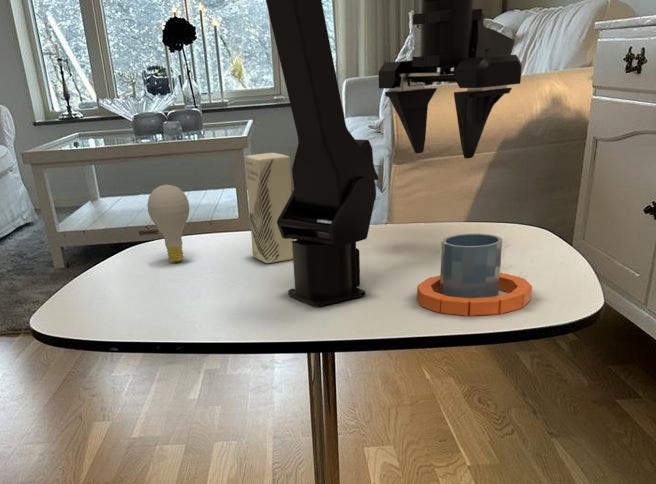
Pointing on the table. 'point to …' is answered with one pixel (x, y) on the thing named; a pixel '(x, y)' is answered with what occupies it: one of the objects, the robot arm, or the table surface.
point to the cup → (470, 265)
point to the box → (268, 205)
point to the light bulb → (169, 217)
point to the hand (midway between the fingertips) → (442, 155)
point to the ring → (476, 306)
